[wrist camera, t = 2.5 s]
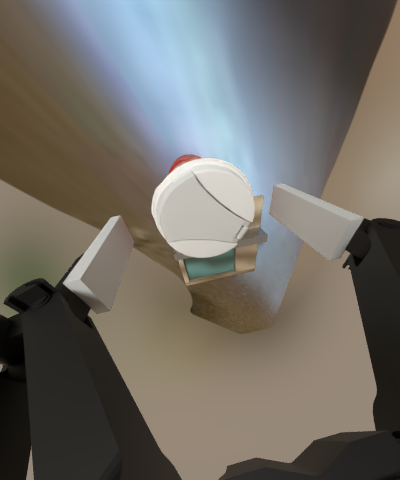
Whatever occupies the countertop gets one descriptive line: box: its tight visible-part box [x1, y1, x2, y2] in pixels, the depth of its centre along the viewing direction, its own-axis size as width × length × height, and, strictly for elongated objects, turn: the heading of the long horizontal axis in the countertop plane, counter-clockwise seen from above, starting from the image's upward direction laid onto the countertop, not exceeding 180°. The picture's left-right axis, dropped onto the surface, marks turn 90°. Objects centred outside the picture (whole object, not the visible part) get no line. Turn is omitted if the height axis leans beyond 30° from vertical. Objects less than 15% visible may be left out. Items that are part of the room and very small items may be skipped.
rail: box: [173, 227, 267, 261], centre depth 29 cm, size 2×18×3 cm, turn 98°
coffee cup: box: [152, 155, 255, 258], centre depth 17 cm, size 8×8×15 cm
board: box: [178, 195, 264, 286], centre depth 32 cm, size 20×18×1 cm
